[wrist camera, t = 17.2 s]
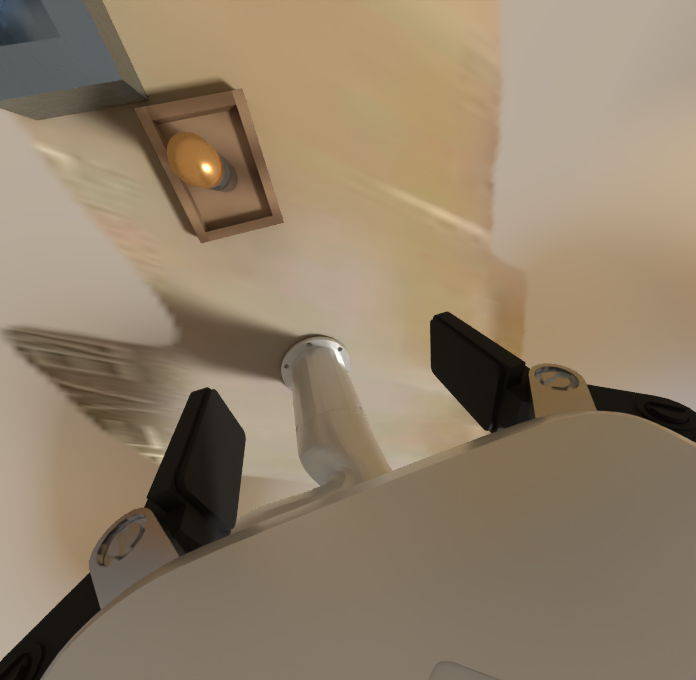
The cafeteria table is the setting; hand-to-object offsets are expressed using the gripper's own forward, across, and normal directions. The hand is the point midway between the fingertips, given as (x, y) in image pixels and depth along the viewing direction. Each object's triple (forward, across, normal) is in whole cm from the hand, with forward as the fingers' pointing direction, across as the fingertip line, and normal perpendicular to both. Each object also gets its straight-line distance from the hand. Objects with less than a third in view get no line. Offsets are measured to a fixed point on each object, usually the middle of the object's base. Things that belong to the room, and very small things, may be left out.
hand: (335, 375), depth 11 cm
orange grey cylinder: (+28, +5, -10) cm, 30 cm away
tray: (+28, +5, -10) cm, 30 cm away
